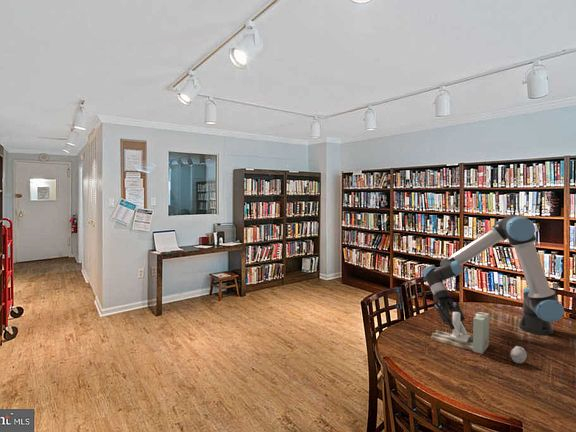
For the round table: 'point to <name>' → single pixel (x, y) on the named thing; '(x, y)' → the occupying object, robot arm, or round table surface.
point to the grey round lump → (518, 354)
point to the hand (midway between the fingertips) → (461, 334)
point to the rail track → (450, 340)
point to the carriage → (457, 323)
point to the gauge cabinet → (480, 332)
